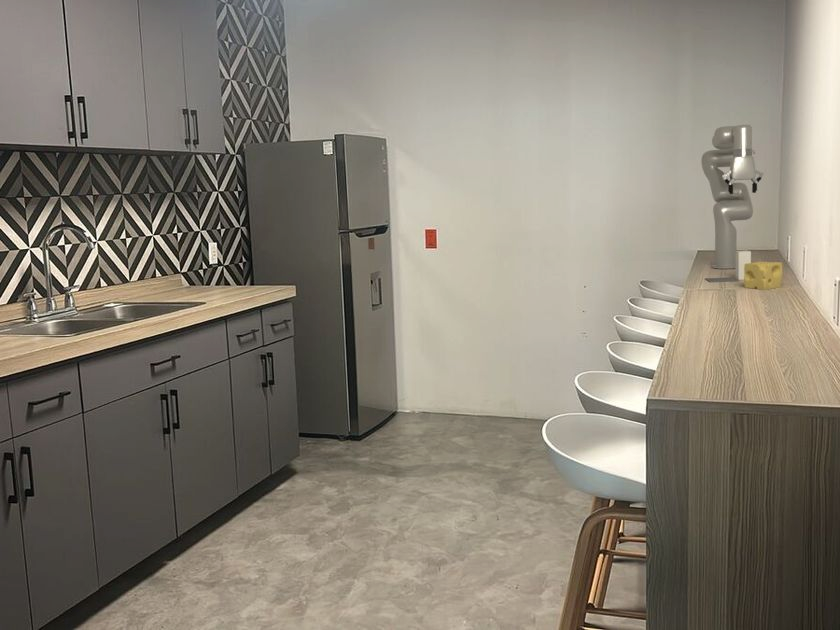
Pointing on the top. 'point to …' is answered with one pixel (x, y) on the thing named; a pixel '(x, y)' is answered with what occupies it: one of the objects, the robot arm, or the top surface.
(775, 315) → the top surface
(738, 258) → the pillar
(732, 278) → the mat
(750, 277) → the cheese
